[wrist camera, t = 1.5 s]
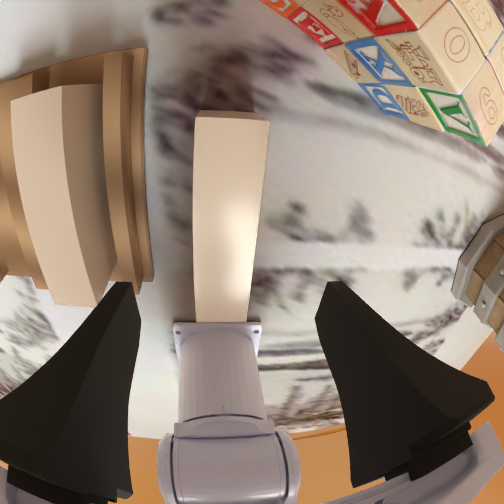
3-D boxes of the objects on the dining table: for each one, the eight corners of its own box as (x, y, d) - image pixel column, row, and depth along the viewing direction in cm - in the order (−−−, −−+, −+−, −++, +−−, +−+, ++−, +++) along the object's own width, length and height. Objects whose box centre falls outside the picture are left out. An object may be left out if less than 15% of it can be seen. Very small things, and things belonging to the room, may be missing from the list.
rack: (153, 275, 20) (148, 300, 18) (4, 269, 18) (-10, 288, 15) (147, 49, 12) (135, 42, 9) (-29, 100, 9) (-52, 106, 7)
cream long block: (117, 259, 18) (98, 307, 14) (80, 258, 18) (55, 304, 14) (103, 83, 12) (61, 85, 8) (58, 92, 11) (10, 100, 7)
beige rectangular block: (238, 274, 22) (246, 321, 17) (197, 273, 21) (196, 322, 17) (254, 112, 15) (270, 121, 11) (200, 109, 15) (195, 117, 10)
